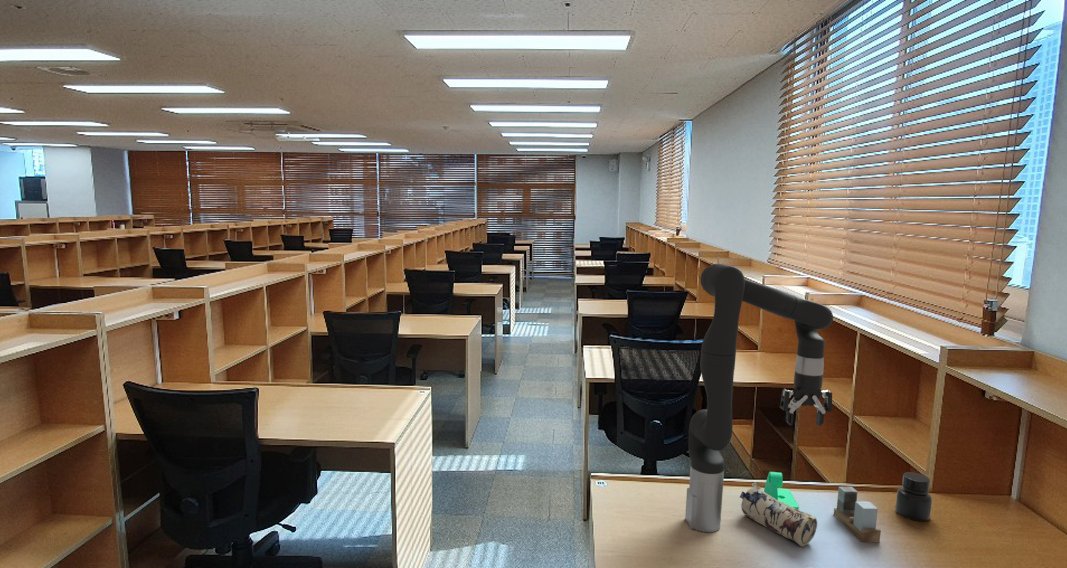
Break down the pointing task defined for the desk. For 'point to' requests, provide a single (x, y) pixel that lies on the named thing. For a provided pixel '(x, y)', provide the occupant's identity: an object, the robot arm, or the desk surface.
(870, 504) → the finger block
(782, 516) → the pencil case
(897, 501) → the ink bottle
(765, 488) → the camera mount
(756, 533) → the desk surface
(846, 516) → the rail
